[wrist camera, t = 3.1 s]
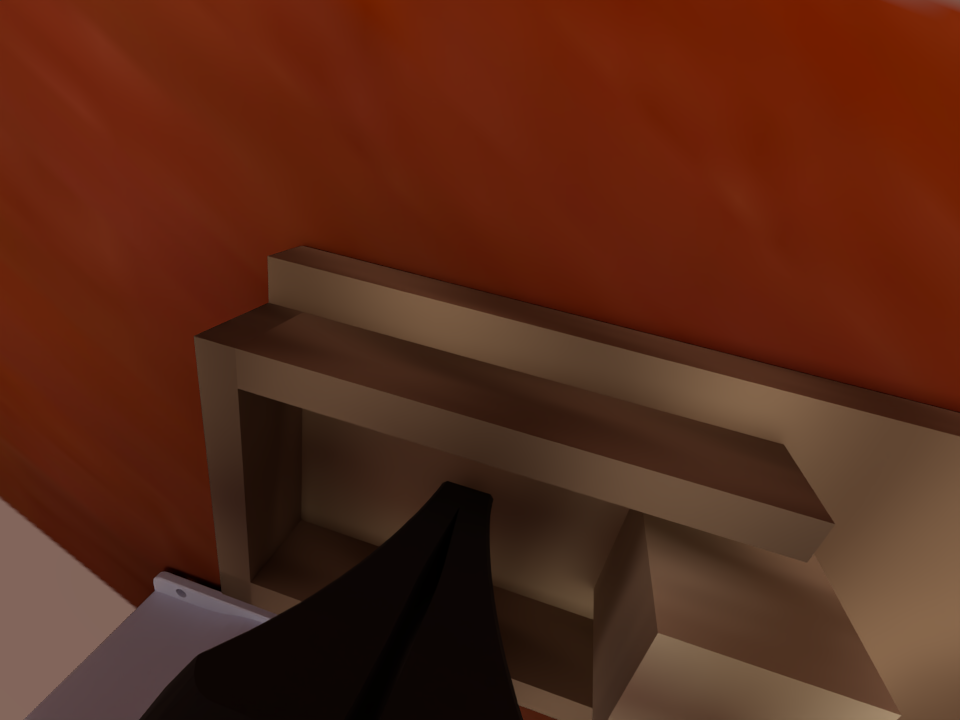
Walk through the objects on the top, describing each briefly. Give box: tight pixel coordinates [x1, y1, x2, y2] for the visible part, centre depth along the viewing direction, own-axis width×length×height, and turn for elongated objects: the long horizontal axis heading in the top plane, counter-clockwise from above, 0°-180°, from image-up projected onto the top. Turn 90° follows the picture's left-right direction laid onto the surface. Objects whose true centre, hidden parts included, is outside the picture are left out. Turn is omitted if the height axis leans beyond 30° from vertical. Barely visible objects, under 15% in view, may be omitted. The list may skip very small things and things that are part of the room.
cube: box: [592, 509, 902, 720], centre depth 10 cm, size 4×4×4 cm
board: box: [268, 246, 960, 720], centre depth 12 cm, size 28×14×4 cm, turn 79°
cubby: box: [194, 303, 835, 720], centre depth 12 cm, size 13×8×2 cm, turn 79°
